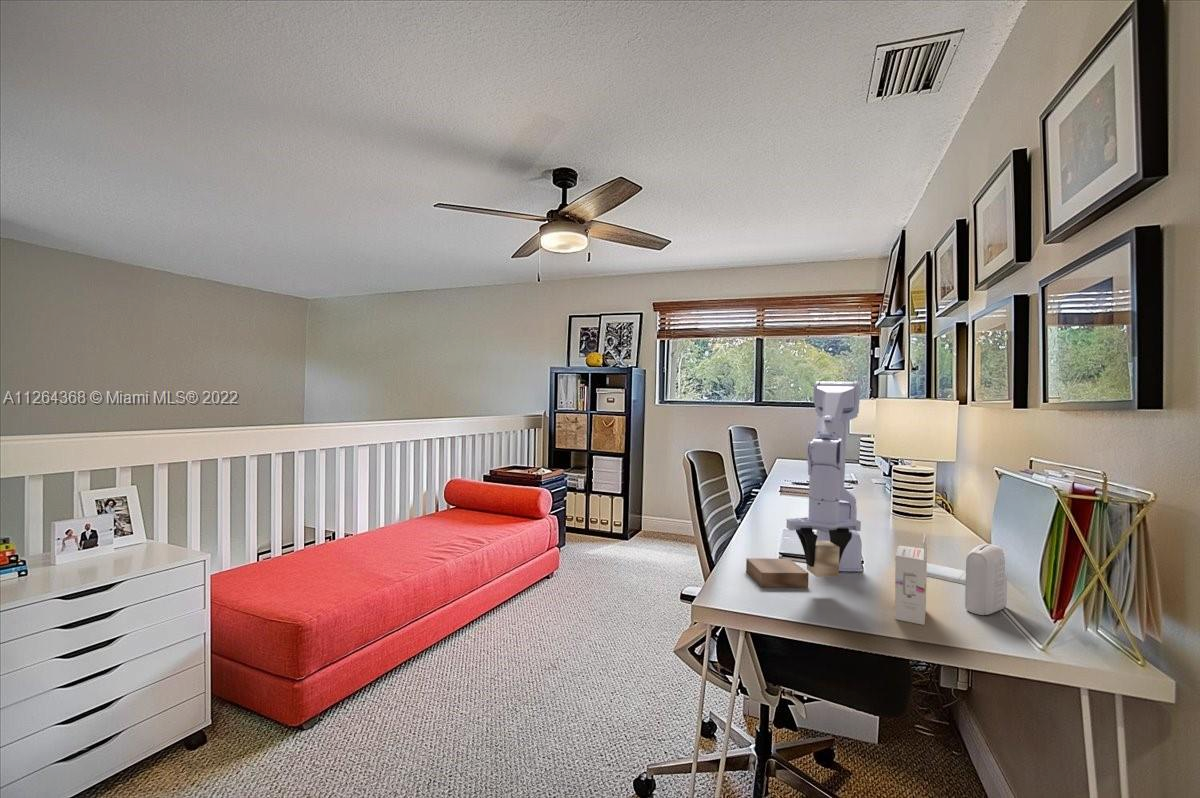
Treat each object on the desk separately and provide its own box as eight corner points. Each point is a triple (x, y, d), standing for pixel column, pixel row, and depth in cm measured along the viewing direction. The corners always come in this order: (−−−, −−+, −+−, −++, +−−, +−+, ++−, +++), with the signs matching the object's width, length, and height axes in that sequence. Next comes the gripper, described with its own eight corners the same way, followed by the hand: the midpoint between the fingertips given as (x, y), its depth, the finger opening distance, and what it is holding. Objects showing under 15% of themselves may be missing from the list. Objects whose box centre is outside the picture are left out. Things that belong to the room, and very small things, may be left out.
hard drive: (902, 566, 125) (965, 579, 117) (911, 559, 131) (972, 571, 123) (901, 573, 125) (965, 586, 117) (911, 565, 131) (972, 578, 123)
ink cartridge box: (895, 604, 104) (897, 529, 104) (925, 610, 101) (927, 533, 101) (893, 619, 97) (895, 538, 97) (925, 626, 94) (927, 542, 94)
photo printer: (984, 600, 107) (986, 538, 107) (1010, 607, 104) (1011, 543, 104) (961, 610, 102) (962, 545, 102) (987, 618, 98) (988, 551, 98)
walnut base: (789, 571, 122) (789, 558, 122) (808, 587, 112) (808, 573, 112) (746, 571, 122) (746, 558, 122) (761, 586, 112) (761, 572, 112)
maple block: (828, 569, 111) (828, 540, 111) (838, 576, 106) (839, 546, 106) (806, 569, 111) (807, 540, 111) (816, 576, 106) (817, 546, 106)
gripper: (797, 501, 104) (795, 571, 104) (869, 502, 105) (868, 572, 105) (783, 495, 111) (781, 560, 111) (851, 496, 112) (849, 560, 112)
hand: (822, 565), depth 108 cm, fingers closed on maple block, 4 cm apart
